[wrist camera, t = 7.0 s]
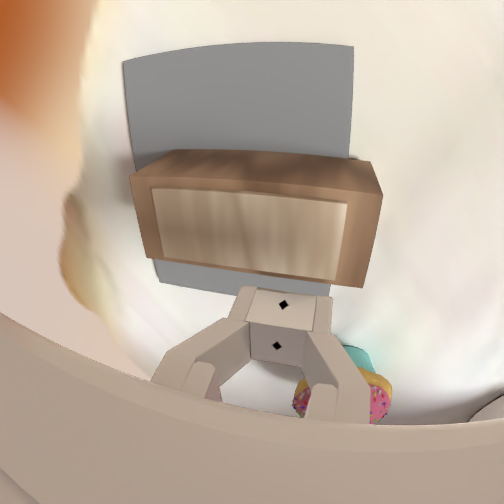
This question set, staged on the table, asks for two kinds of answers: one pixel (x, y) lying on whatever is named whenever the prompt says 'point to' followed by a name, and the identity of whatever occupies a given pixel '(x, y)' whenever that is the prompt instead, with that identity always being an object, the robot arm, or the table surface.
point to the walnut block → (260, 213)
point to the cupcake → (378, 384)
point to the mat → (240, 120)
